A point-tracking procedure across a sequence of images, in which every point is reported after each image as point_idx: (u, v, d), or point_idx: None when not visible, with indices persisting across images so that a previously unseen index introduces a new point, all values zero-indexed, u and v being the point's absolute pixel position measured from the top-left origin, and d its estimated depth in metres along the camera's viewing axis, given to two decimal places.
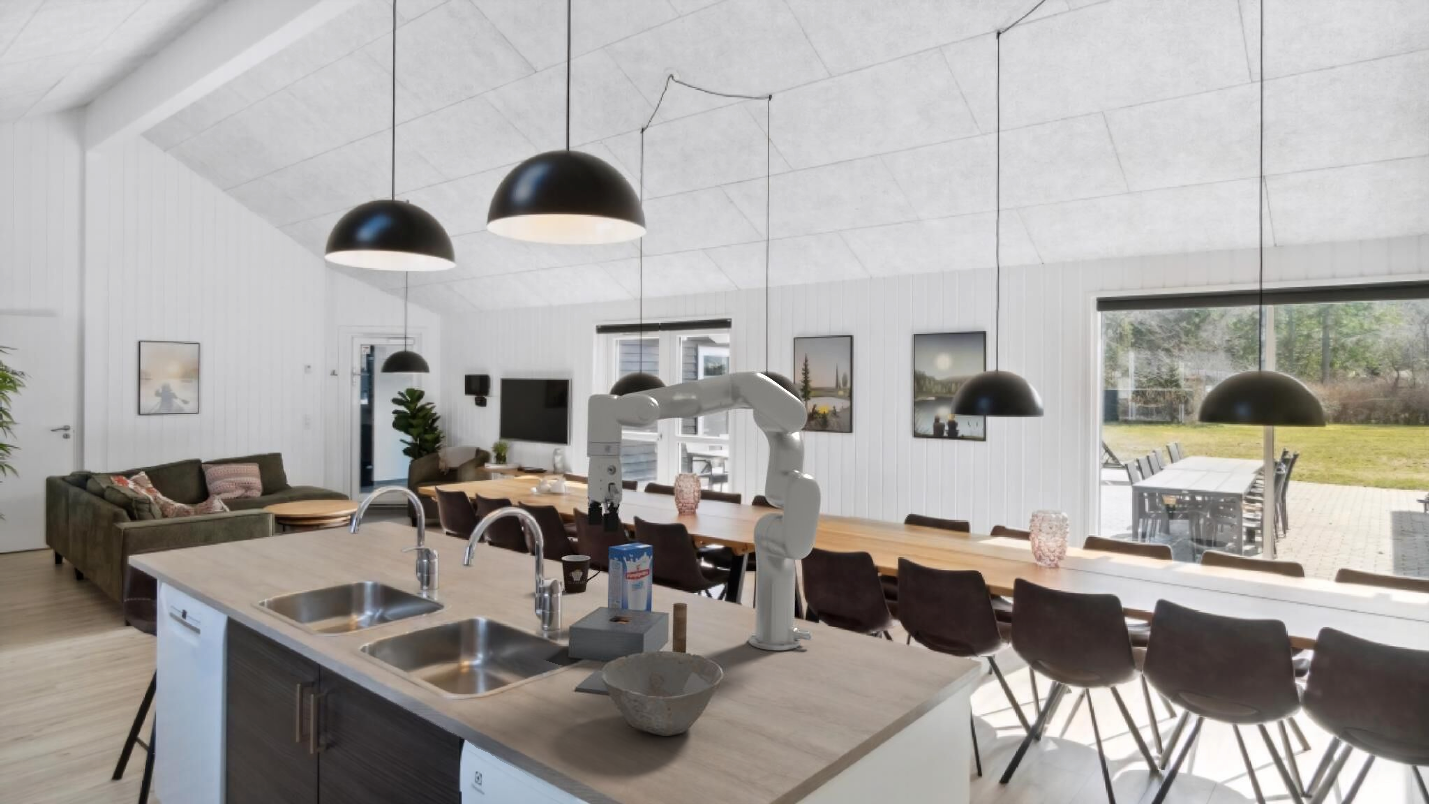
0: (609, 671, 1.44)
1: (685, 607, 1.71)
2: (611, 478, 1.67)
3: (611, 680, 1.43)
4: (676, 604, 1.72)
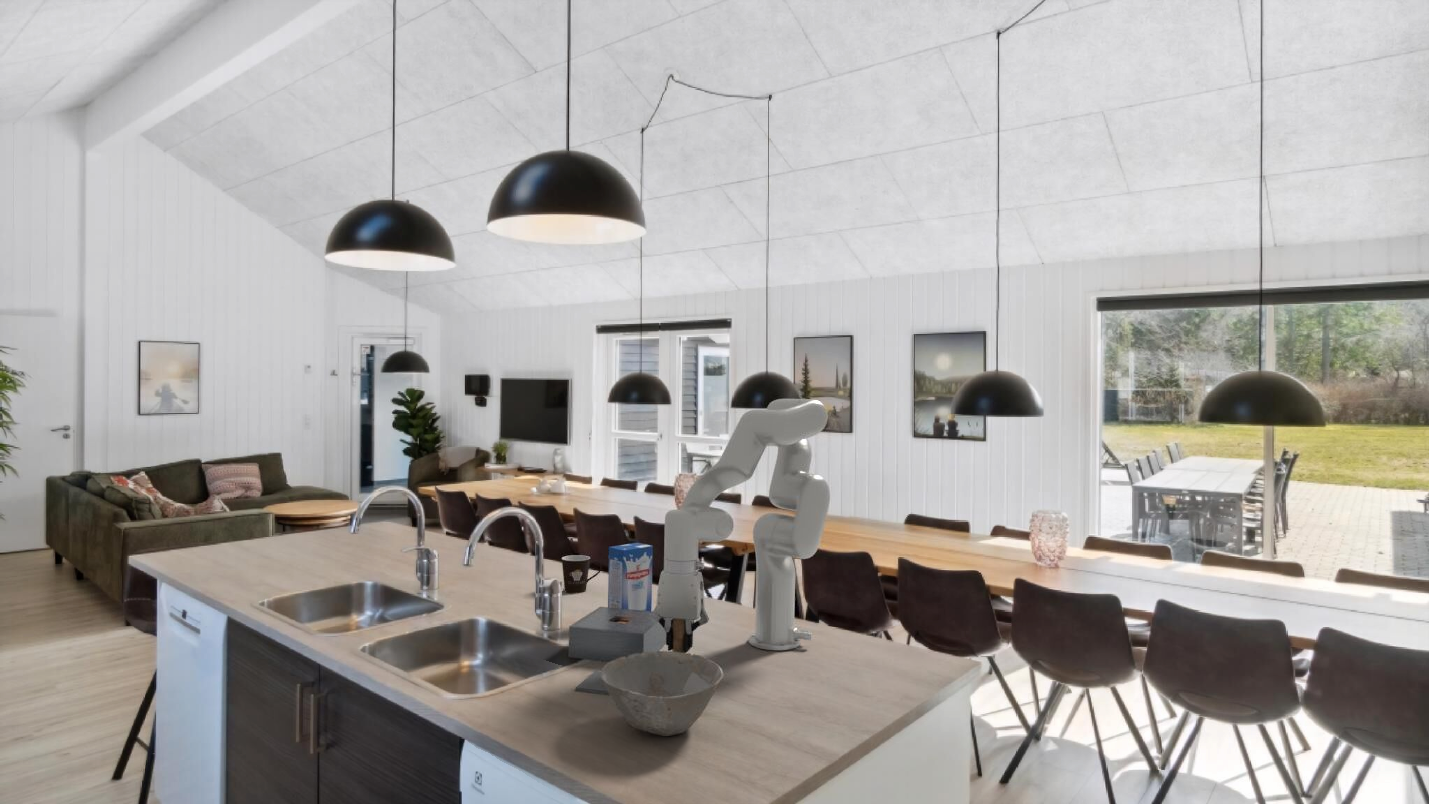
0: (609, 671, 1.44)
1: None
2: (702, 593, 1.70)
3: (611, 680, 1.43)
4: None
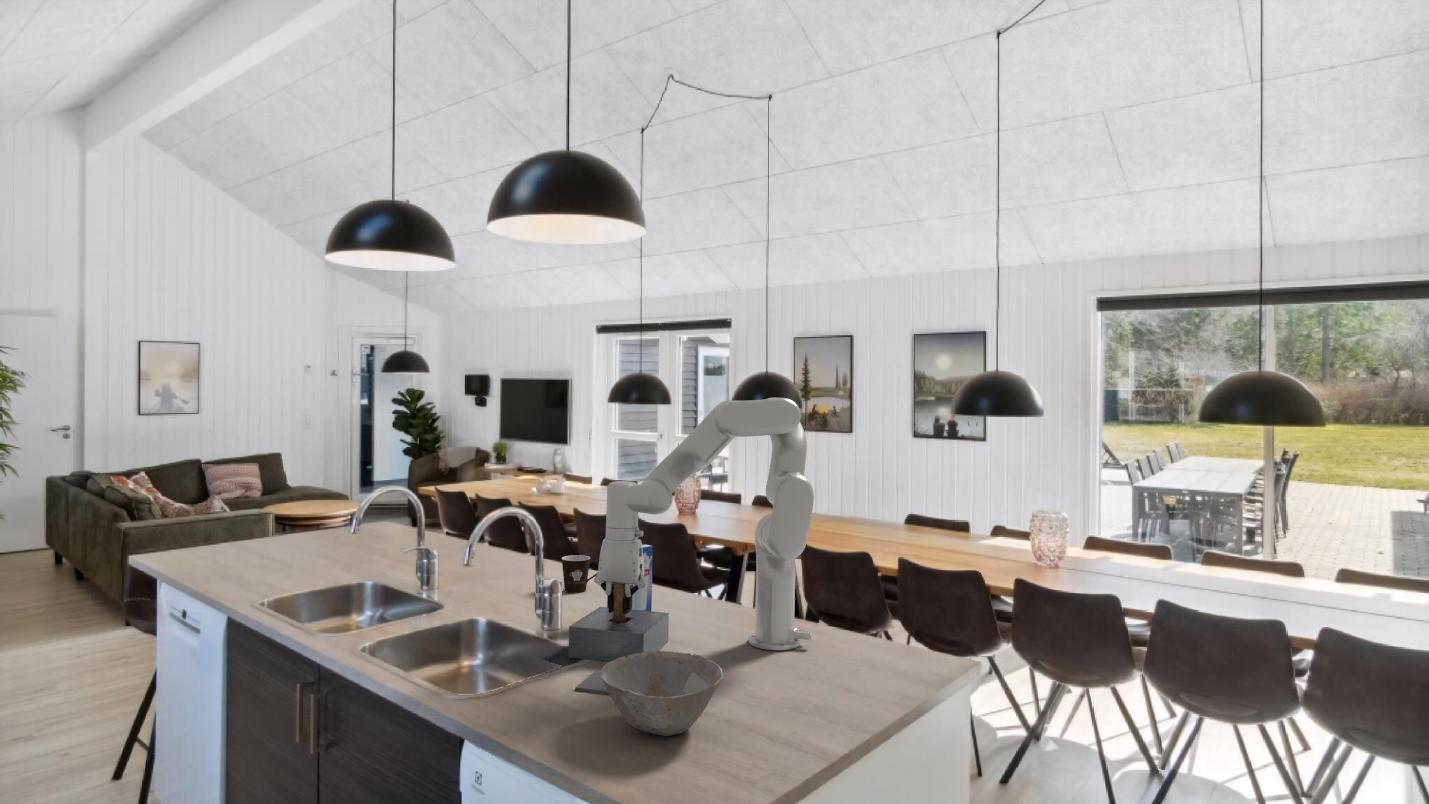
0: (609, 671, 1.44)
1: None
2: (641, 559, 1.82)
3: (611, 680, 1.43)
4: None
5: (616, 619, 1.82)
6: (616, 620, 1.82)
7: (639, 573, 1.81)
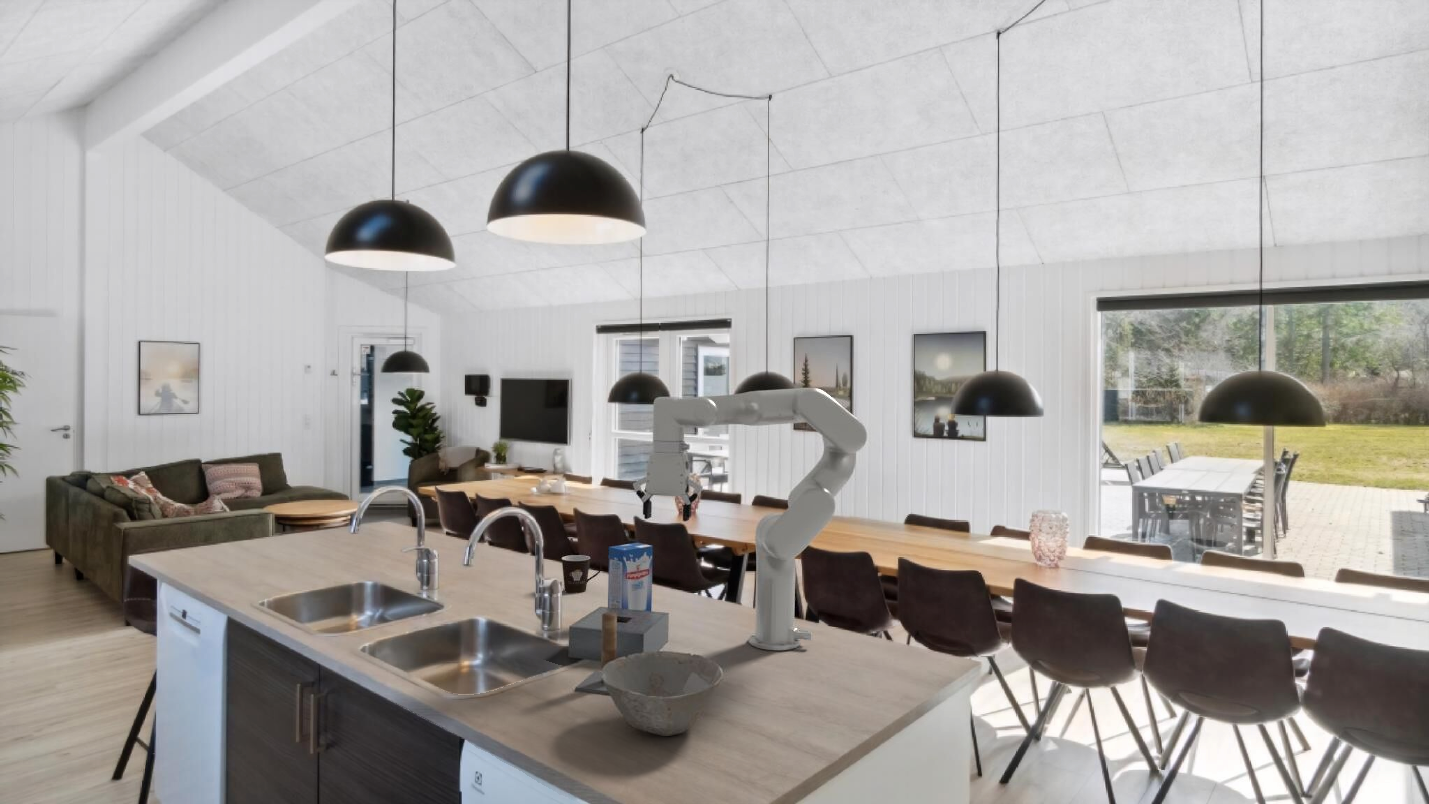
0: (609, 671, 1.44)
1: (614, 617, 1.60)
2: (687, 472, 1.86)
3: (611, 680, 1.43)
4: (605, 614, 1.60)
5: None
6: None
7: (686, 485, 1.85)
